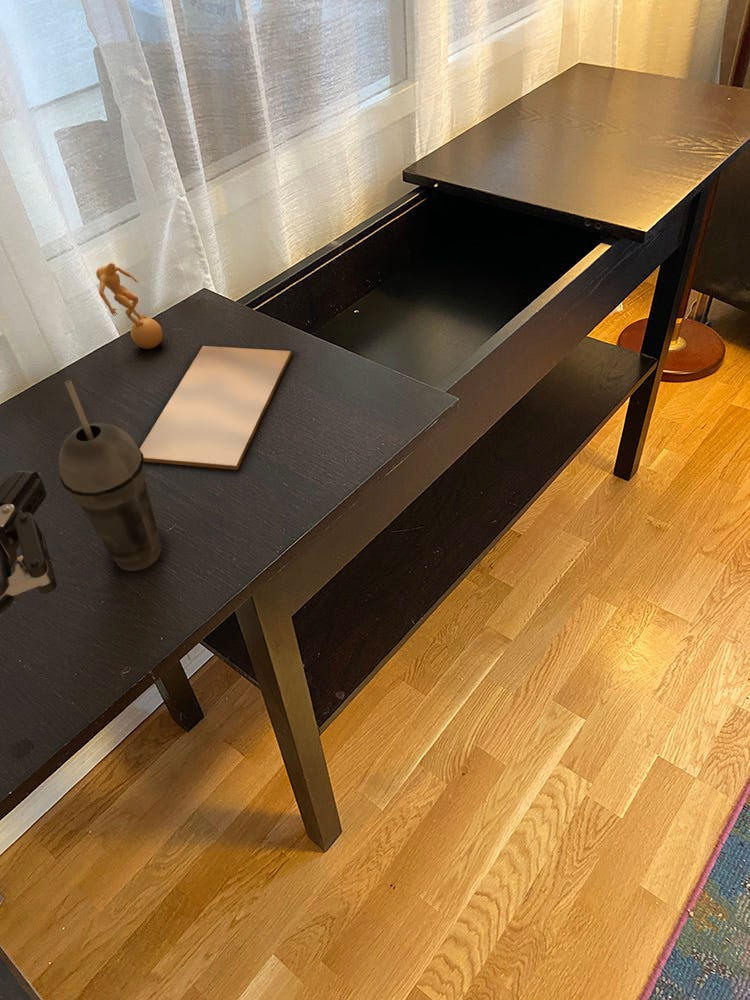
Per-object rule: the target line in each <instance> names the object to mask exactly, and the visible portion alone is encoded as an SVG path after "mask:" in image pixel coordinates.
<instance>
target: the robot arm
mask: <svg viewBox="0 0 750 1000" xmlns="http://www.w3.org/2000/svg"><path fill="white" fill-rule="evenodd" d="M45 499H47V491H46V488H45V484H44V483H43V480H42V479H41V477H40V475H39V472H37V471H29V470H16V471H15V472H14V473H13V474H12V476H11V475H10V476H9V477H8V478H6V479H5V480H4V481H3V482H2V484H1V485H0V614H2V613H3V612H5V611H6V610H8V609H9V608H10V606H12V604H13V603H14V600H15V597H16V596H18V595H20V594H23V593H25V592H28V591H31V590H33V589H36V588H37V590H38V592H39V593H40V594H44V595H45V594H49V593H52V592H53V591H54V590H55V589H56V588H57V586H58V582H57V579H56V575H55V571H54V568H53V564H52V561H51V557H50V554H49V550H48V546H47V543H46V539H45V536H44V535H43V533H42V531H41V529H40V527H39V525H38V523H37V521H36V519H35V518H34V515H35V513H36V512H37V511H38V509H39V508H40V506H41V505H42V503H43V502H44V500H45ZM19 547H20V550H21V555H19V556H17V550H18V548H19ZM16 562H17V563H16ZM15 563H16V564H15ZM14 564H15V566H14ZM13 566H14V572H13V573H12V568H13Z"/></svg>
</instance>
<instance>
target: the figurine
mask: <svg viewBox="0 0 750 1000" xmlns="http://www.w3.org/2000/svg"><path fill="white" fill-rule="evenodd" d="M118 272H119V273H120V274H122V275H123V276H126V277H128V278H130V279H132V280H133V281H134V282H135V283H137V284H138V283H139V281H138V280H137V278H135V277H134V276H133V275H131V274H130V273H129V272H127V271H125V270H123V269H122V268H121V267H119V266H116V264H115V263H114V262H109V263H108V264H107V265H104V266H100V267H98V268H97V270H96V272H95V275H96V278H97V279H98V281H99V288H98V294H99V296H100V297H101V299H102V300H103V302H104V303H105V305H106V307H108V310H109V313H110V314H111V315H112V316H113V317H115V316H116V317H117V315H118V313H117V309H116V308H114V307H112V305H111V302H110V301H109V299H108V298H107V295H106V294H105V288H108V289H109V290H110V291H111V293H112V294H113V299H114V301H115V302H116V303H118V304H119V305H121V306H123V308H126V310H125V315H126V316H127V318H128V319H129V320H130V321H131V322H132V323H133V324H132V326H131V328H130V337H131V339H132V341H133V343H134V344H135V345H136V346H138V347H139V348H141V349H145V350H151V349H154V348H156V347H158V346H159V345H160V343H161V342H162V339H163V329H162V326H161V325H160V323H158V321H156V320H155V319H153V318H150V317H147V316H146V315H143V314H140V313H139V312H138V311H137V310H136V309H135V308H136V307H137V305H138V303H139V298H138V296H137V295H135V294H133V293H132V292H131V291H130V290H128V288H127V287H126V286H125V285H123V284H122V285H121V277H120V275H119V273H118ZM131 301H132V302H131ZM132 314H134V316H135V317H136V318H137V319H136V318H135V317H134V316H132Z"/></svg>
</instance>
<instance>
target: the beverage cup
mask: <svg viewBox="0 0 750 1000" xmlns="http://www.w3.org/2000/svg"><path fill="white" fill-rule="evenodd" d="M64 384H65V387H66V389H67V392H68V394H69V396H70V399H71V401H72V404H73V406H74V409H75V411H76V413H77V416H78V418H79V421H80V424H81V426H79V427H77V428H76V429H73V431H72V432H71V433H70V434H69V435H68V436H67V437H66V438H65V440H64V441H63V443H62V445H61V447H60V449H59V453H58V471H59V472H58V473H59V475H60V482H61V485H62V486H63V488H64V489H65V490H66V491H68V492H69V494H70V495H71V497H72V498H73V499H74V500H75V502H76V503H78V504H79V505H80V507H81V509H82V510H83V512H84V514H85V516H86V517H87V519H88V520H89V522H90V524H91V525H92V527H93V528H94V530H95V532H96V534H97V535H98V537H99V539H100V540H101V542H102V543H103V545H104V547H105V548H106V550H107V552H108V554H109V555H110V556H111V557H112V558H113V560H114V562H115V563H116V566H118V568H121V569H122V570H124V571H127V572H136V571H141V570H144V569H146V568H148V567H150V566H152V565H153V564H154V563H155V562H157V560H158V559H159V557H160V555H161V552H162V546H161V542H160V534H159V530H158V526H157V522H156V518H155V514H154V509H153V506H152V501H151V498H150V494H149V489H148V485H147V482H146V473H145V462H144V457H143V454H142V452H141V451H140V448H139V447H138V445H137V443H136V442H135V441H134V439H133V438H132V437H131V435H129V434H128V433H127V432H126V431H124V430H123V429H121V428H119V427H118V426H117V425H113V424H110V423H107V422H106V423H105V422H91V423H89V422H88V419H87V417H86V414H85V412H84V410H83V406H82V404H81V401H80V399H79V397H78V394H77V392H76V389H75V386H74V385H73V382H72V380H66V381H65V382H64Z"/></svg>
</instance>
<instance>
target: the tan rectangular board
mask: <svg viewBox="0 0 750 1000" xmlns="http://www.w3.org/2000/svg"><path fill="white" fill-rule="evenodd" d="M291 357H292V351H291V350H280V349H279V350H278V349H263V348H246V347H245V348H244V347H229V346H211V345H202V346H201V348H200V350H199V351H198V353H197V355H196V357H194V360H193V361H192V363H191V364H190V366H189V367H188V369H187V371H186V372H185V374H184V375H183V377H182V379H181V381H180V382H179V383H178V386H177V387H176V389H175V391H174V392H173V394H172V395H171V397H170V398H169V400H168V402H167V404H166V405H165V407H164V408H163V409H162V411H161V413H160V415H159V416H158V418H157V419H156V421H155V423H154V424H153V426H152V428H151V429H150V430H149V433H148V434H147V436H146V438H145V439H144V441H143V442H142V444H141V445H140V448H139V449H140V451H141V452H142V454H143V457H144V463H146V462H147V463H157V464H166V465H167V464H168V465H178V466H179V465H180V466H190V467H201V468H212V469H221V470H223V469H224V470H235V471H237V470H238V469H239V468H240V465H241V463H242V461H243V459H244V457H245V454H246V452H247V451H248V449H249V446H250V445H251V442H252V440H253V438H254V435H255V434H256V431H257V429H258V427H259V425H260V423H261V421H262V419H263V416H264V414H265V412H266V410H267V408H268V406H269V405H270V402H271V399H272V397H273V396H274V393H275V391H276V388H277V386H278V385H279V382H280V380H281V379H282V376H283V373H284V372H285V369H286V367H287V366H288V363H289V362H290V359H291Z"/></svg>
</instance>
